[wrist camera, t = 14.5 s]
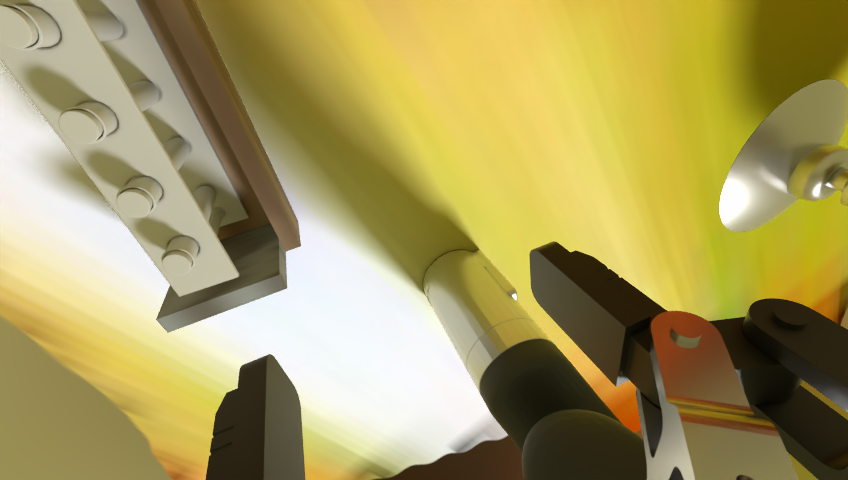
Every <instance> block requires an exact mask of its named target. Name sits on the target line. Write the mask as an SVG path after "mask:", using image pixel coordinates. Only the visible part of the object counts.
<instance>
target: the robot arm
mask: <svg viewBox="0 0 848 480" xmlns="http://www.w3.org/2000/svg"><path fill="white" fill-rule="evenodd" d="M530 274H531V289H532V292H533V295H534V297H535V299H536V301H537V302H538V304H539V305H540V306H541V307H542V308H543V309H544V310H545V311H546V313H547V314H548V315H549V316H550V317H551V318H552V319H553V320H554V321H555V322H556V323H557V324H558V325H559V326H560V327H561V329H562V330H563V331H564V332H565V333H566V334H567V335H568V336H569V337H570V338H571V339H572V340H573V341H574V342H575V343H576V345H577V346H578V347H579V348H580V349H581V350H582V351H583V352H584V353H585V354H586V355H587V356H588V357H589V358H590V359H591V361H592V362H593V363H594V364H595V365H596V366H597V367H598V368H599V369H600V370H601V371H602V372H603V373H604V374H605V375H606V377H607V378H608V379H609V380H610V381H611V382H612V383H613V384H614V385H615V386H618V385H620V384H622V383H624V382H626V381H628V380H630V381H631V382H632V383H633V384H634V385H635V386H636V387H637V389H636V396H637V403H638V409H639V416H640V422H641V429H642V434H643V439H642V438H641V437H639V436H638V435H637V434H635V433H634V432H632V431H631V430H630V429H628V428H627V427H625V426H624V425H623V424H622V423H621V422H620V421H619V420H618V418H617V417H616V416H615V415H614V414H613V413H612V411H611V410H610V409H609V408H608V407H607V406H606V405H605V403H604V402H603V401H602V400H601V399H600V398H599V396H598V395H597V394H596V393H595V392H594V390H593V389H592V388H591V387H590V385H589V384H588V383H587V382H586V381H585V379H584V378H583V377H582V376H581V375H580V373H579V372H578V371H577V370H576V369H575V367H574V366H573V365H572V364H571V362H570V361H569V360H568V359H567V358H566V357H565V356H564V355H563V353H562V352H561V351H560V350H559V349H558V348H557V347H556V345H555V344H553V342H552V341H551V340H550V339H549V338H548V337H547V335H546V334H545V333H544V332H543V331H542V330H541V328H540V327H539V326H538V325H537V324H536V323H535V322H534V320H533V319H532V318H531V317H530V316H529V315H528V314H527V312H526V311H525V310H524V309H523V308H522V307H521V305H520V304H519V303H518V301H517V292H516V290H515V288H514V287H513V286H512V285H511V284H510V283H509V282H508V280H507V279H506V278H505V277H504V276H503V275H502V274H501V273H500V272H499V270H498V269H497V268H496V267H495V266H494V265H493V264H492V263H491V262H490V260H489V259H488V258H487V257H486V256H485V255H484V254H483V253H482V252H481V250H478V251H475V252H470V251H466V250H457V251H452V252H449V253H446V254H444V255H443V256H441V257H439V258H438V259H437V260H436V261H434V262H433V264H432V265H431V266H430V267H429V269H428V270H427V272H426V274H425V277H424V280H423V289H424V292H425V294H426V296H427V298H428V301H429V302H430V304H431V306H432V307H433V309H434V311H435V313H436V315H437V316H438V318H439V320H440V322H441V324H442V325H443V327H444V329H445V331H446V333H447V334H448V336H449V338H450V340H451V342H452V343H453V345H454V347H455V349H456V351H457V353H458V354H459V356H460V358H461V360H462V362H463V363H464V365H465V367H466V369H467V371H468V372H469V374H470V376H471V378H472V380H473V381H474V383H475V385H476V387H477V389H478V390H479V392H480V394H481V396H482V398H483V400H484V401H485V403H486V405H487V407H488V409H489V410H490V412H491V414H492V415H493V417H494V418H495V419H496V420H497V422H498V423H499V424H500V425H501V426H502V428H503V429H504V430H505V431H506V433H507V434H508V435H509V436H510V438H511V439H512V440H513V442H514V443H515V445H516V446H517V447H518V449H519V450H520V452H521V453H522V471H523V478H524V480H799V478H798V476H797V474H796V471H795V469H794V467H793V464H792V462H791V460H790V457H789V455H788V453H789V454H791V455H792V456H793V457H794V458H795V459H796V460H797V461H799V463H801V464H802V465H803V466H804V467H805V468H806V469H807V470H808V471H809V472H811V473H812V474H813V475H814V476H815V477H816V478H817V479H819V480H848V420H847V419H845V418H844V417H843V416H841V415H840V414H839V413H837V412H836V411H835V410H833V409H832V408H830V407H829V406H828V405H826V404H825V403H824V402H822V401H821V400H820V399H818V398H817V397H815V396H814V395H813V394H812V393H810V392H809V391H807V390H806V389H805V388H803V387H802V386H801V385H800V384H801V383H802V381H803V380H804V381H805V382H807V383H808V384H810V385H811V386H813V387H814V388H815V389H817V390H818V391H819V392H820V393H822V394H823V395H825V396H826V397H827V398H829V399H830V400H832V401H833V402H834V403H836V404H837V405H838V406H840V407H841V408H843V409H844V410H846V411H847V412H848V330H847V329H846V328H844V327H842V326H840V325H839V324H837V323H835V322H833V321H832V320H830V319H828V318H827V317H825V316H823V315H821V314H820V313H818V312H816V311H814V310H812V309H811V308H809V307H806V306H804V305H802V304H799V303H796V302H793V301H788V300H783V299H762V300H759V301H756V302H754V303H753V304H752V305H751V306H750V308H749V310H748V312H747V315H746V317H740V318H732V319H724V320H716V321H707V320H705V319H704V318H702V317H700V316H697V315H695V314H692V313H688V312H682V311H667V310H665V309H664V308H662V307H661V306H660V305H658V304H657V303H655V302H654V301H653V300H651V299H650V298H649V297H647V296H646V295H645V294H643V293H642V292H640V291H639V290H638V289H636V288H635V287H634V286H632V285H631V284H630V283H628V282H627V281H626V280H624V279H623V278H619V276H618V275H617V274H616V273H615V272H613V271H612V270H611V269H608V268H607V267H606V266H605V265H604V264H602V263H601V262H600V261H598V260H597V259H596V258H594V257H592V256H590V255H587V254H584V253H581V252H578V251H573V252H571V253H570V252H569V251H568V250H566V249H565V248H564V247H563V246H561V245H560V244H559V243H557V242H551V243H548V244H546V245H543V246H541V247H538V248H536V249H533V250H531V252H530ZM213 436H214V437H213V438H212V442H211V448H210V452H211V455H210V456H209V461H208V468H207V474H206V480H305V467H304V452H303V436H302V421H301V407H300V401H299V397H298V394H297V391H296V389H295V387H294V385H293V384H292V382H291V381H290V379H289V378H288V376H287V375H286V373H285V372H284V371H283V369H282V368H281V366H280V365H279V363H278V362H277V360H276V359H275V358H274V356H273V355H271V354H269V355H267V356H264V357H262V358H259V359H257V360H254V361H252V362H249V363H247V364H244V365H242V366H241V368H240V372H239V381H238V389H235V390H233V391H230V392H228V393H226V395H225V397H224V399H223V401H222V403H221V405H220V407H219V409H218V411H217V413H216V416H215V422H214V429H213ZM787 452H788V453H787Z"/></svg>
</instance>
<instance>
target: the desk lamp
mask: <svg viewBox="0 0 848 480" xmlns="http://www.w3.org/2000/svg"><path fill="white" fill-rule="evenodd" d="M847 121H848V90H847V88H846V86H845V85H844V84H843V83H841V82H840V81H838V80H834V79H826V80H821V81H817V82H815V83H812V84H810V85H808V86H806V87H804V88H802V89H800V90H799V91H797V92H796V93H794V94H793V95H791V96H790V97H789V98H787V99H786V100H785V101H784V102H782V103H781V104H780V105H779V106H778V107H777V108H776V109H775V110H774V111H773V112H772V113H771V114H770V115H769V116H768V117H767V118H766V119H765V120H764V121H763V122H762V123H761V124H760V125H759V127H758V128H757V129H756V130H755V132H754V133H753V134H752V135H751V137H750V138H749V139H748V141H747V142H746V144H745V145H744V147H743V148H742V150H741V151H740V153H739V155H738V156H737V158H736V160H735V162H734V163H733V165H732V167H731V169H730V172H729V174H728V176H727V178H726V181H725V184H724V187H723V190H722V194H721V200H720V216H721V220H722V222H723V224H724V225H725V227H727V228H728V229H729V230H731V231H734V232H746V231H751V230H754V229H756V228H759V227H761V226H763V225H765V224H767V223H769V222H770V221H772V220H773V219H775V218H776V217H778V216H779V215H780V214H782V213H783V212H784V211H786V210H787V209H788V208H789V207H790V206H791V205H792V204H794V203H795V202H796V201H797V200H798V199H799V198H800V199H803V200H807V201H817V200H821V199H824V198H827V197H829V196H830V195H832V194H833V193H834V192H836V191H837V190H839V191H842V196H841V204H843V205H846V206H848V149H847V148H845V147H841V146H838V144H839V142H840V140H841V137H842V135H843V133H844V130H845V127H846V124H847Z"/></svg>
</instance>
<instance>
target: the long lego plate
mask: <svg viewBox="0 0 848 480" xmlns="http://www.w3.org/2000/svg"><path fill="white" fill-rule="evenodd" d="M20 5H34V6H20ZM35 6H37V7H35ZM50 46H54V47H52V48H40V47H50ZM0 59H1V60H2V62H3V63H4V64H5V66H6V67H7V68H8V70H9V71H10V72H11V74H12V75H13V76H14V78H15V79H16V80H17V82H18V83H19V84H20V86H21V87H22V88H23V90H24V91H25V92H26V94H27V95H28V96H29V98H30V99H31V100H32V102H33V103H34V104H35V106H36V107H37V108H38V110H39V111H40V112H41V114H42V115H43V116H44V118H45V119H46V120H47V122H48V123H49V124H50V126H51V127H52V128H53V130H54V131H55V132H56V134H57V135H58V136H59V138H60V139H61V140H62V142H63V143H64V144H65V145H66V147H67V148H68V149H69V151H70V152H71V153H72V155H73V156H74V157H75V159H76V160H77V161H78V163H79V164H80V165H81V167H82V168H83V169H84V171H85V172H86V173H87V175H88V176H89V177H90V179H91V180H92V181H93V183H94V184H95V185H96V187H97V188H98V189H99V191H100V192H101V193H102V195H103V196H104V197H105V199H106V200H107V201H108V203H109V204H110V205H111V207H112V208H113V209H114V211H115V212H116V213H117V215H118V216H119V217H120V219H121V220H122V221H123V223H124V224H125V225H126V227H127V228H128V229H129V231H130V232H131V233H132V235H133V236H134V237H135V239H136V240H137V241H138V243H139V244H140V245H141V247H142V248H143V249H144V251H145V252H146V253H147V255H148V256H149V257H150V258H151V260H152V261H153V262H154V264H155V265H156V266H157V268H158V269H159V270H160V272H161V273H162V274H163V276H164V277H165V278H166V280H167V281H168V282H169V284H170V285H171V286H172V288H173V289H174V290H175V292H176V293H177V294H178V296H179V297H180V296H183V295H186V294H189V293H192V292H195V291H198V290H201V289H204V288H207V287H210V286H213V285H216V284H219V283H222V282H225V281H228V280H231V279H234V278H237V277H239V272H238V271H237V269H236V267H235V266H234V264H233V262H232V261H231V259H230V257H229V256H228V254H227V252H226V251H225V249H224V247H223V246H222V244H221V242H220V241H219V239H218V237H217V235H218V231H219V227H221V226H225V225H228V224H231V223H234V222H238V221H241V220H244V219H247V218H249V213H248V211H247V210H246V208H245V206H244V204H243V202H242V200H241V198H240V196H239V194H238V192H237V190H236V188H235V186H234V184H233V183H232V181H231V179H230V177H229V175H228V173H227V171H226V169H225V167H224V165H223V163H222V161H221V159H220V157H219V155H218V154H217V152H216V150H215V148H214V146H213V144H212V142H211V140H210V138H209V136H208V134H207V132H206V130H205V128H204V126H203V124H202V123H201V121H200V119H199V117H198V115H197V113H196V111H195V109H194V107H193V105H192V103H191V101H190V99H189V97H188V95H187V94H186V92H185V90H184V88H183V86H182V84H181V82H180V80H179V78H178V76H177V74H176V72H175V70H174V68H173V66H172V64H171V63H170V61H169V59H168V57H167V55H166V53H165V51H164V49H163V47H162V45H161V43H160V41H159V39H158V37H157V35H156V34H155V32H154V30H153V28H152V26H151V24H150V22H149V20H148V18H147V16H146V14H145V12H144V10H143V8H142V6H141V4H140V3H139V1H138V0H0ZM85 101H88V102H86V103H84V104H81V103H83V102H85ZM79 104H81V105H79ZM115 129H117V130H116V131H115V132H113V133H111V132H112V131H114V130H115ZM109 133H111V134H109ZM133 177H134V178H133ZM131 178H133V179H132V180H131V181H130V182H129V183H128V184H127V182H128V181H129V180H130V179H131ZM162 195H163V197H162V198H161V196H162ZM160 198H161V199H160ZM159 199H160V200H159ZM170 240H171V241H170ZM169 241H170V243H169V245H168V242H169ZM199 247H200V251H199V252H198V250H199Z"/></svg>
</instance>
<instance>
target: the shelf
mask: <svg viewBox="0 0 848 480" xmlns="http://www.w3.org/2000/svg"><path fill="white" fill-rule="evenodd" d="M138 1H139V3H140V4H141V6H142V8H143V10H144V12H145V14H146V16H147V18H148V20H149V22H150V24H151V26H152V28H153V30H154V32H155V34H156V35H157V37H158V39H159V41H160V43H161V45H162V47H163V49H164V51H165V53H166V55H167V57H168V59H169V61H170V63H171V64H172V66H173V68H174V70H175V72H176V74H177V76H178V78H179V80H180V82H181V84H182V86H183V88H184V90H185V92H186V94H187V95H188V97H189V99H190V101H191V103H192V105H193V107H194V109H195V111H196V113H197V115H198V117H199V119H200V121H201V123H202V124H203V126H204V128H205V130H206V132H207V134H208V136H209V138H210V140H211V142H212V144H213V146H214V148H215V150H216V152H217V154H218V155H219V157H220V159H221V161H222V163H223V165H224V167H225V169H226V171H227V173H228V175H229V177H230V179H231V181H232V183H233V184H234V186H235V188H236V190H237V192H238V194H239V196H240V198H241V200H242V202H243V204H244V206H245V208H246V210H247V211H248V213H249V218H247V219H244V220H241V221H238V222H234V223H231V224H228V225H225V226H221V227H219V231H218V235H217V237H218V239H219V241H220V242H221V244H222V246H223V247H224V249H225V251H226V252H227V254H228V256H229V257H230V259H231V261H232V262H233V264H234V266H235V267H236V269H237V271H238V272H239V277H237V278H234V279H231V280H228V281H225V282H222V283H219V284H216V285H213V286H210V287H207V288H204V289H201V290H198V291H195V292H192V293H189V294H186V295H183V296H180V297H179V296H178V294H177V293H176V292H175V290H174V289H173V288H172V286H171V285H170V287H169V289H168V292H167V294H166V297H165V299H164V302H163V304H162V307H161V309H160V312H159V314H158V317H157V319H156V320H157V321H158V322H159V323H160V324H161V326H162V327H163V328H164V329H165V330H166V331H167V332H171V331H174V330H176V329H179V328H182V327H184V326H187V325H190V324H192V323H195V322H198V321H201V320H203V319H206V318H209V317H211V316H214V315H217V314H219V313H222V312H225V311H227V310H230V309H233V308H235V307H238V306H241V305H243V304H246V303H249V302H251V301H254V300H257V299H260V298H262V297H265V296H268V295H270V294H273V293H276V292H278V291H281V290H284V289H286V288H287V275H286V251H288V250H291V249H294V248H297V247H300V246H301V244H300V235H299V226H298V220H297V218H296V216H295V214H294V212H293V210H292V207H291V205H290V203H289V201H288V199H287V197H286V195H285V193H284V190H283V188H282V186H281V184H280V182H279V180H278V178H277V175H276V173H275V171H274V169H273V167H272V165H271V163H270V161H269V158H268V156H267V154H266V152H265V150H264V148H263V146H262V144H261V141H260V139H259V137H258V135H257V133H256V131H255V129H254V127H253V124H252V122H251V120H250V118H249V116H248V114H247V112H246V110H245V107H244V105H243V103H242V101H241V99H240V97H239V95H238V92H237V90H236V88H235V86H234V84H233V82H232V80H231V78H230V75H229V73H228V71H227V69H226V67H225V65H224V63H223V61H222V58H221V56H220V54H219V52H218V50H217V48H216V46H215V44H214V41H213V39H212V37H211V35H210V33H209V31H208V29H207V27H206V24H205V22H204V20H203V18H202V16H201V14H200V12H199V10H198V7H197V5H196V3H195V1H194V0H138ZM20 6H34V5H20ZM35 7H37V6H35ZM52 47H54V46H50V47H40V48H52ZM86 102H88V101H85V102H83V103H81V104H84V103H86ZM81 104H79V105H81ZM116 130H117V129H115V130H114V131H112V132H111V133H113V132H115V131H116ZM111 133H109V134H111ZM133 178H134V177H133ZM133 178H131V179H130V180H129V181H128V182H127V184H128V183H129V182H130V181H131V180H132V179H133ZM162 197H163V195H162V196H161V198H162ZM161 198H160V199H161ZM160 199H159V200H160ZM170 241H171V240H170ZM170 241H169V242H168V245H169V243H170ZM199 251H200V247H199V250H198V252H199Z"/></svg>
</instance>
